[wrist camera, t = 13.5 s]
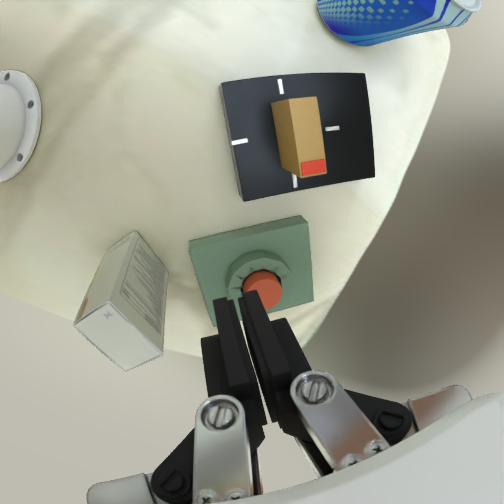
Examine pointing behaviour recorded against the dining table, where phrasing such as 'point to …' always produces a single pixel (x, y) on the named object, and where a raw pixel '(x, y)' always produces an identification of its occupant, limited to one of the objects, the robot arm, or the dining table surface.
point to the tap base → (265, 139)
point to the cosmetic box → (126, 304)
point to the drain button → (264, 287)
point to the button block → (255, 262)
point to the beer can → (392, 17)
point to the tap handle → (300, 136)
